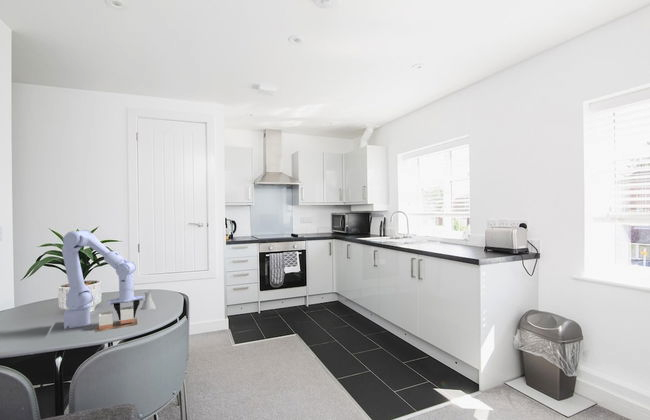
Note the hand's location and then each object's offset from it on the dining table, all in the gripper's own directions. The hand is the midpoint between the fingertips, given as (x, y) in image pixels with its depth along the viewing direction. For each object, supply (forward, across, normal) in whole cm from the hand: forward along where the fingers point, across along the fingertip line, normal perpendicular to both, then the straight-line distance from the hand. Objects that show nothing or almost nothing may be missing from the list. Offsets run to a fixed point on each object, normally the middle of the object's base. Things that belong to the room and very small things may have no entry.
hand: (127, 318), depth 150 cm
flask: (+4, +10, +20) cm, 23 cm away
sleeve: (+1, 0, 0) cm, 1 cm away
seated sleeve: (+2, -8, 0) cm, 8 cm away
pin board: (+4, -4, 0) cm, 5 cm away
